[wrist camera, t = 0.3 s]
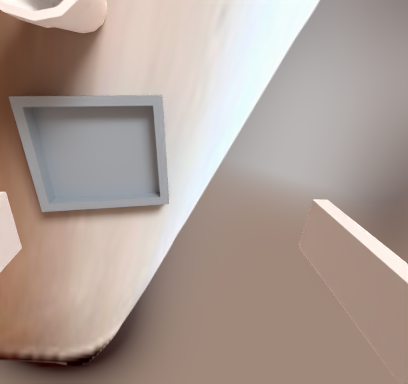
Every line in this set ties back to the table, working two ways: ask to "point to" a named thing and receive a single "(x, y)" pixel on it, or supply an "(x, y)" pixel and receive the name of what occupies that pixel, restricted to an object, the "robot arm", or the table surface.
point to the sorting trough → (94, 150)
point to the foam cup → (59, 13)
